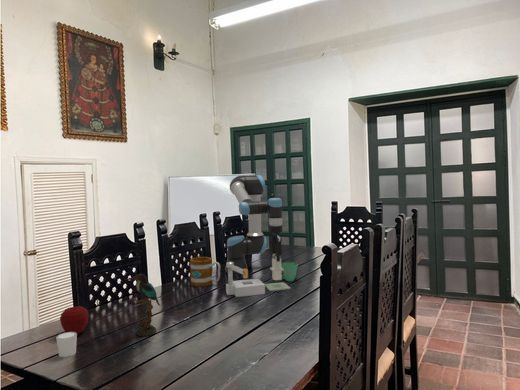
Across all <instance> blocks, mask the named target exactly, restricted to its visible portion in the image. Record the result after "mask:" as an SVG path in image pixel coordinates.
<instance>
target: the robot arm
mask: <svg viewBox="0 0 520 390" xmlns="http://www.w3.org/2000/svg"><path fill="white" fill-rule="evenodd" d="M229 190H230V193H232V195H233V196H235V198H236V200H237V201H238V202H237V203H239V204H238V211H239V215H241V216H244V215H245V216H247V217H248V232H247V234H246V237H245V236H244V235H235V236H230V237H229V238H227V240H226V248H227V252H226V253H227V260H226V263H227V262H234V266H237V267H239V268H241V269H245V268H246V269H248V265H247V261H246V256H247V255H259V254H263V253H265V252H266V248H267V243H268V241H267V237H266V236H265V235H264V233H263V231H262V215H268V219H267V221H268V225H269V226H268V232H269V233H271V235H270V246H271V247H270V252H271V254H272V256H275V266H276V267H280V257H281V256H282V253H283V251H282V241H283V239H282V237H281V235H280V233H283V226H282V225H283V203H282V198H279V197H274V198H273V197H272V198H271V197H270V198H269V199H268V200H261V199H262V196H263V194H264V192H265V191H266V183H265V178H264V177H263V176H262V175H261V174H259V175H258V174H253V175H252V174H251V175H250V174H247V175H242V174H241V175H238V176H236V177H234V178H233V179H232V180H231V181H230V184H229ZM248 270H249V269H248ZM224 271H225V273H227V274H228V268H227V267H226V266H225V270H224ZM232 272H233V274H239V273H238V272H236V271H234V270H232Z"/></svg>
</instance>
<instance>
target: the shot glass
mask: <svg viewBox="0 0 520 390" xmlns="http://www.w3.org/2000/svg"><path fill="white" fill-rule="evenodd" d="M77 336H78V334H77V333H75V332H66V333H65V332H63V333H60V334H58V335H56V337H55V338H56V345H57V352H58V356H59V357H60V358H69V357H72V356H74V355H75V354H76V353H77V341H78V340H77Z"/></svg>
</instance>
